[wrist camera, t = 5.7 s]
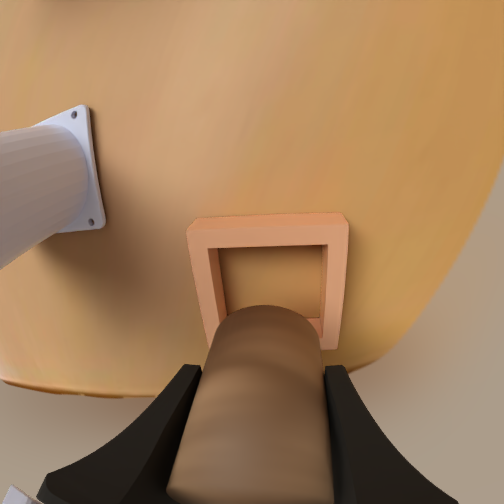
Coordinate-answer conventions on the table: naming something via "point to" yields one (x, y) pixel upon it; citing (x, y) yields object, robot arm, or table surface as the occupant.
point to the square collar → (270, 234)
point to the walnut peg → (258, 416)
